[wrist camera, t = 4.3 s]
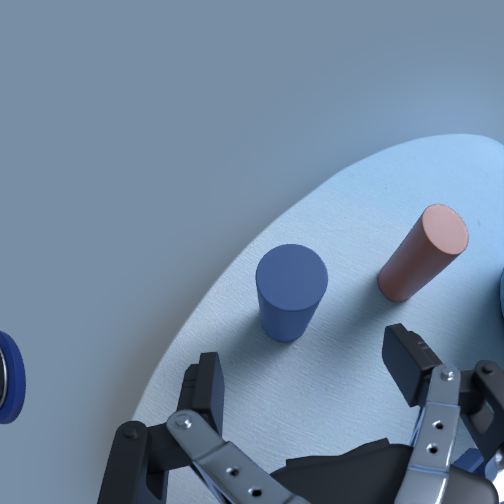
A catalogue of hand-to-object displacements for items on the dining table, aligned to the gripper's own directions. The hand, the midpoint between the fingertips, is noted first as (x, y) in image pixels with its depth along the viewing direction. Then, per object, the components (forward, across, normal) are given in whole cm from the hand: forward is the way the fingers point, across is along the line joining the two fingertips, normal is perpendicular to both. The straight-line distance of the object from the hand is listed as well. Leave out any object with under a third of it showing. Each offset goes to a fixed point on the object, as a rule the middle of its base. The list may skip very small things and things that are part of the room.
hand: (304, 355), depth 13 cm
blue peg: (+9, 0, +3) cm, 10 cm away
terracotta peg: (+10, -10, +2) cm, 14 cm away
